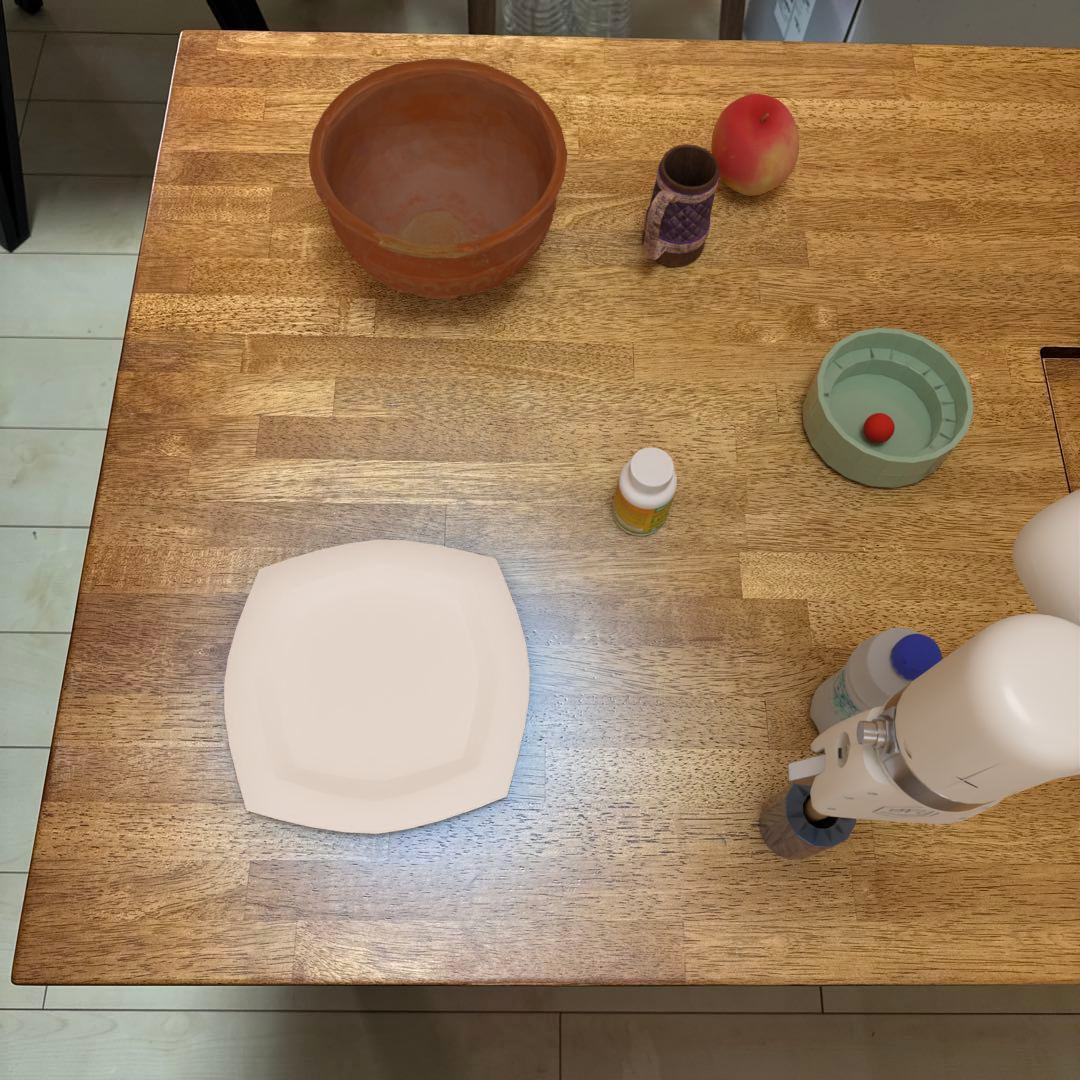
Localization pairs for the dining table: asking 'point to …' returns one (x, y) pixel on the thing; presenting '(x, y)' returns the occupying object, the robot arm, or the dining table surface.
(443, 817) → the plate
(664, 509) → the supplement bottle
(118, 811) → the dining table surface
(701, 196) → the mug
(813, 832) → the holder
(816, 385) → the green round dish
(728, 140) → the apple
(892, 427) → the red ball
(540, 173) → the bowl
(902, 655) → the bottle
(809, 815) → the stick
